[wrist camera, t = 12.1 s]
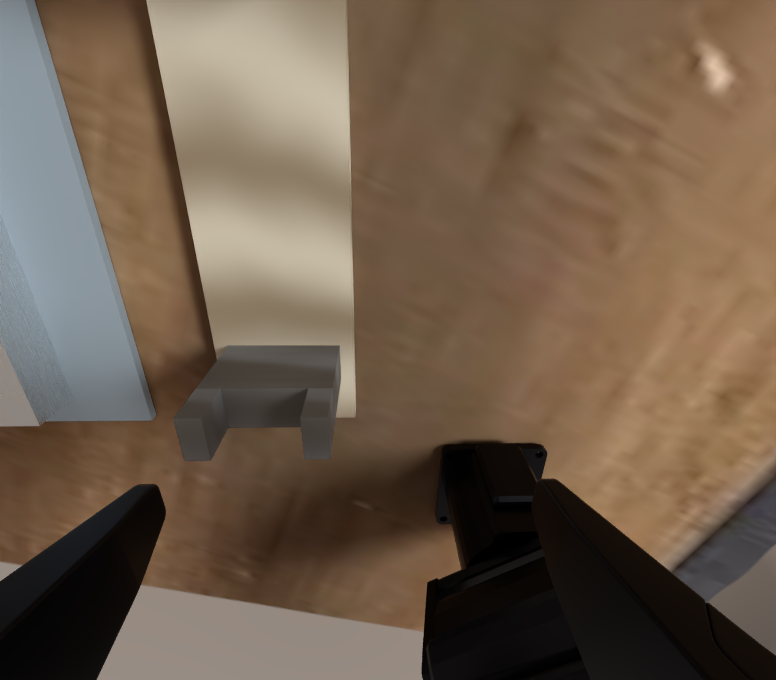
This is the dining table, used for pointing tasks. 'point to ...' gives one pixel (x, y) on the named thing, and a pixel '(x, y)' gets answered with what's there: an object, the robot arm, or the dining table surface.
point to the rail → (25, 350)
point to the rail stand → (265, 210)
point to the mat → (62, 231)
